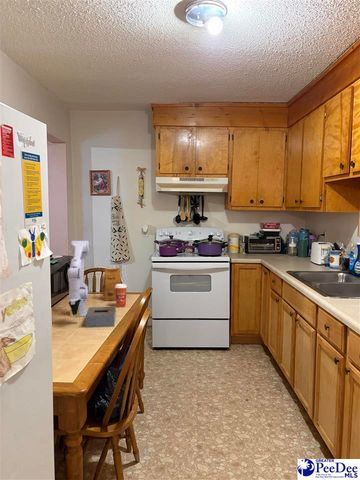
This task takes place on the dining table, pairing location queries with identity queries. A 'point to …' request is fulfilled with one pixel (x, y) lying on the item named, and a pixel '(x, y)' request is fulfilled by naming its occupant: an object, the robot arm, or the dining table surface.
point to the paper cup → (121, 295)
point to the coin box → (100, 317)
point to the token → (75, 315)
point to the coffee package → (111, 283)
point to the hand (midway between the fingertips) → (75, 313)
